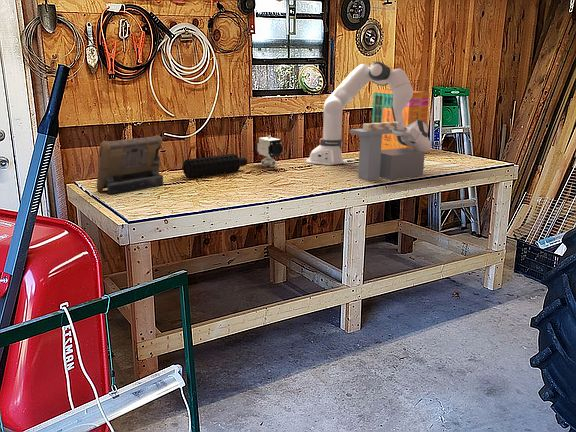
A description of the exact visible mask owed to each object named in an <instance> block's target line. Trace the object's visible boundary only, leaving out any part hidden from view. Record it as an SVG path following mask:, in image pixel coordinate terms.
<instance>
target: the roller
mask: <svg viewBox="0 0 576 432" xmlns="http://www.w3.org/2000/svg"><path fill="white" fill-rule="evenodd" d="M182 165H183V166H182V171H183V174H184V176H185V178H187V179H196V178H201V177H210V176H214V175H215V176H217V175H223V174H229V173H237V172H238V171H239V170H240V168H241V167H244V166H247V165H248V159H247V158H246V157H239V156H238V154H235V153H230V154H229V153H228V154H222V155H213V156H205V157H197V158H189V159H185V160H184V161H183V163H182Z"/></svg>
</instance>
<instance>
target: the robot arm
mask: <svg viewBox="0 0 576 432" xmlns="http://www.w3.org/2000/svg"><path fill="white" fill-rule="evenodd" d="M369 82H372V83H374V84H376V85H377V86H382V87H383V86H387V85H389V87H390V89H391V90H392V93H393V102H392V105H391V106H392V113H393V118H394V122H401V125H399V124H395V127H396V128H394V129H392V134H394V135H396V138H397V141H398V142H399V143H400V144H402V145H405V146H407V145H408V146H411V147H412V148H413V149H414V150H417V151H422V152H425V153H427V152H429V151H430V150H431V148H432V142H431V141H430V138H429V130H430V129H429V125H428V123H427V124H426V123H425V122H424V121H422V120H417V121H415V122H413V123H411V124H409V125H408V126H406V127H405V125H404V121H403V116H402V112H403V109H404V108H405V106H406V105H407V104H408V102H409V101H410V100H411V98H412V96H413V91H414V89H413V86H412V84H411V81H410V79H409V77H408V75H407V73H406V72H405V71H404V70H403V68H395V69H391V68H390V67H389V66H388V65H386V64H385V63H384V62H381V61H374V62H373V63H371V64H370V65H368V64H366V63H360V64H359V65H358V66H357V67H355V68H354V69H353V70H352V71H351V72H350V73H349V74H348V75H347V76H346V77H345V78H344V80H342V82H340V84H339V85H338V86H337V87H336V89H334V90H333V92H332V93H331V94H330V95H329V96H328V97H327V98H326V99H325V101H324V104H323V121H322V122H323V128H322V129H323V131H322V138H320V139H319V145H318V146H316V147H315V148H314V149H312V150H311V152H310V155H309V158H306V160H305V163H307V164H315V165H327V166H332V165H339V164H343V163H344V160H343V159H344V158H343V155H342V154H343V153H342V148H343V139H342V133H343V132H342V131H343V128H342V126H343V112H344V111H343V110H344V109H345V107H346V106H347V105H348V104H349V103H350V102H351V101H352V100H353V99H354V98H355V97H356V96H357V95H358V93H360V92H361V90H362V89H363V88H364V87H365V86H366V84H368V83H369Z"/></svg>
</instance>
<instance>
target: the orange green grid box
mask: <svg viewBox="0 0 576 432" xmlns="http://www.w3.org/2000/svg"><path fill="white" fill-rule="evenodd" d="M429 100H430V91H424V90H423V91H422V90H421V91H420V90H413V96H412V98H411V100H410V101H409V102H408V104H407V105H406V106H405V108H404V109H403V112H402V116H403V121H404V125H405V127H406V126H408V125H409V124H411V123H413V122H415V121H417V120H422V121H424V122H425V123H426V124H427V125H428V115H429V114H428V112H429ZM392 102H393V93H392V90H391V88H387V89H386V88H385V89H373V97H372V114H371V115H372V117H371V123H382V122H394V118H393V113H392V106H391V105H392ZM398 148H408V149H413V148H412V147H411V146H408V145H407V146H405V145H402V144H400V143H399V142H398V141H397V138H396V135H394V134H382V143H381V150H387V149H398ZM413 150H414V149H413Z"/></svg>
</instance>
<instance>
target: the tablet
mask: <svg viewBox="0 0 576 432" xmlns="http://www.w3.org/2000/svg"><path fill="white" fill-rule="evenodd" d="M162 143H163V137H162V136H160V135H158V134H156V135H154V136H146V137H140V138H139V137H135V138H130V139H129V138H127V139H121V140H120V139H118V140H112V141H111V140H110V141H107V140H103V141H102V142H101V143H100V145H99V149H98V151H99V152H98V162H97V163H98V164H97V180H96V189H97V192H98V193H102V192H103V191H104V189H107V195H109V196H111V195H115V194H125V193H128V192H135V191H139V190H141V191H142V190H146V189H149V188H155V187H160V186H163V185H164V176H163V174H160V166H161V165H160V164H161V160H160V159H161V158H160V156H159V151H160V149H161V148H162Z"/></svg>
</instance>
